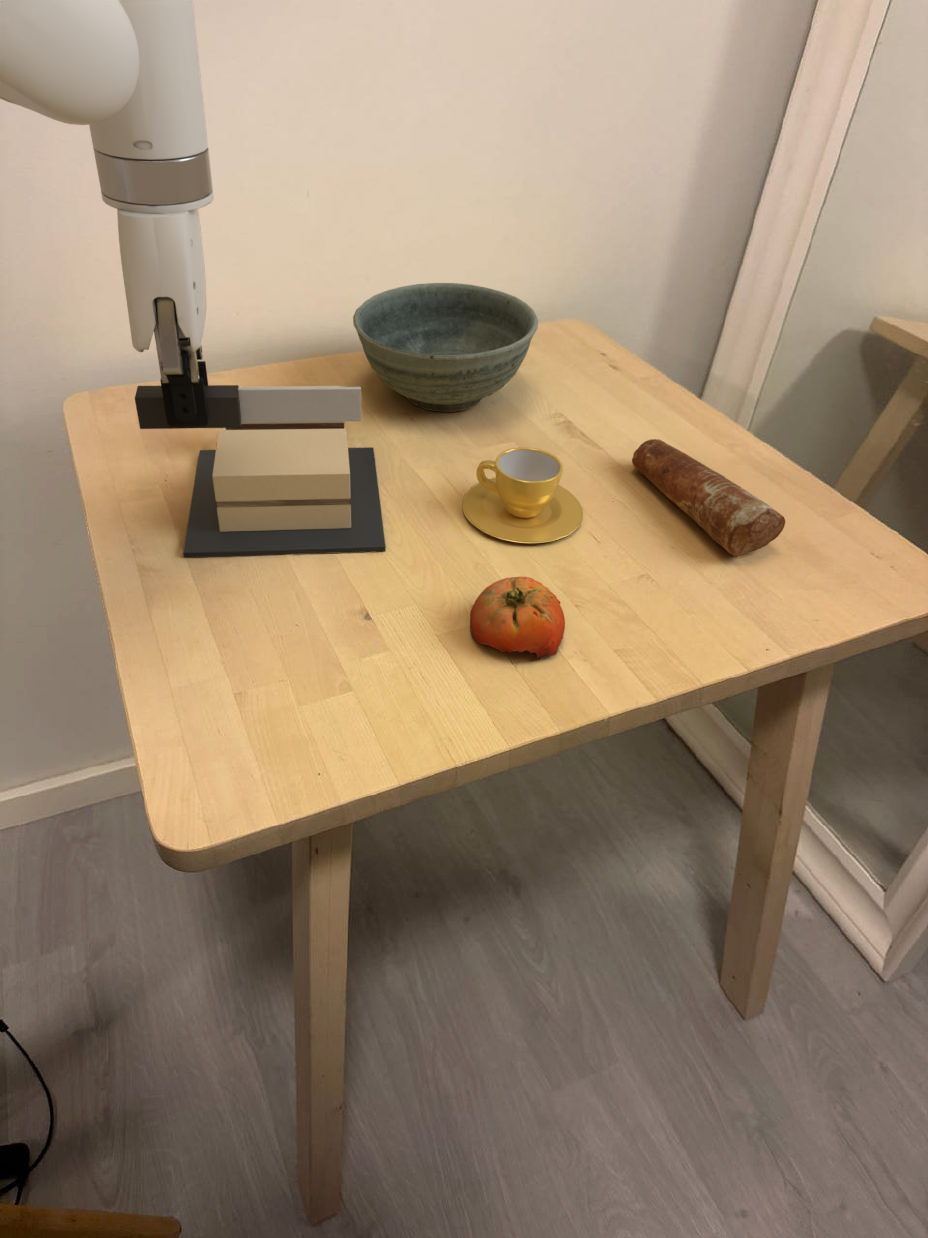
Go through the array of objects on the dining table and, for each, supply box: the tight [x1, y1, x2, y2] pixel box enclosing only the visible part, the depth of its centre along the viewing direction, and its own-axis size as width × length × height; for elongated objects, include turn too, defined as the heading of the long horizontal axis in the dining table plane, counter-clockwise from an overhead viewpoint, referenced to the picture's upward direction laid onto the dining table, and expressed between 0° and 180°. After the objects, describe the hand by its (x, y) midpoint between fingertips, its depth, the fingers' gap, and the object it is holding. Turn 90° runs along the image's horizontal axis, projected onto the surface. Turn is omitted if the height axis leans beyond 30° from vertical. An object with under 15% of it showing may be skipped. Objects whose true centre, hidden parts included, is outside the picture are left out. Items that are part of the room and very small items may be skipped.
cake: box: [182, 428, 387, 559], centre depth 87 cm, size 18×18×7 cm
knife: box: [134, 384, 362, 430], centre depth 75 cm, size 18×2×3 cm, turn 99°
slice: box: [225, 385, 346, 430], centre depth 94 cm, size 12×3×6 cm, turn 98°
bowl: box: [352, 282, 539, 413], centre depth 105 cm, size 21×21×10 cm
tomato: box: [469, 576, 566, 663], centre depth 75 cm, size 8×7×7 cm
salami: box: [631, 438, 786, 558], centre depth 90 cm, size 6×19×6 cm, turn 25°
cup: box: [461, 446, 584, 544], centre depth 88 cm, size 12×12×5 cm
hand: (189, 414), depth 74 cm, fingers closed on knife, 2 cm apart
